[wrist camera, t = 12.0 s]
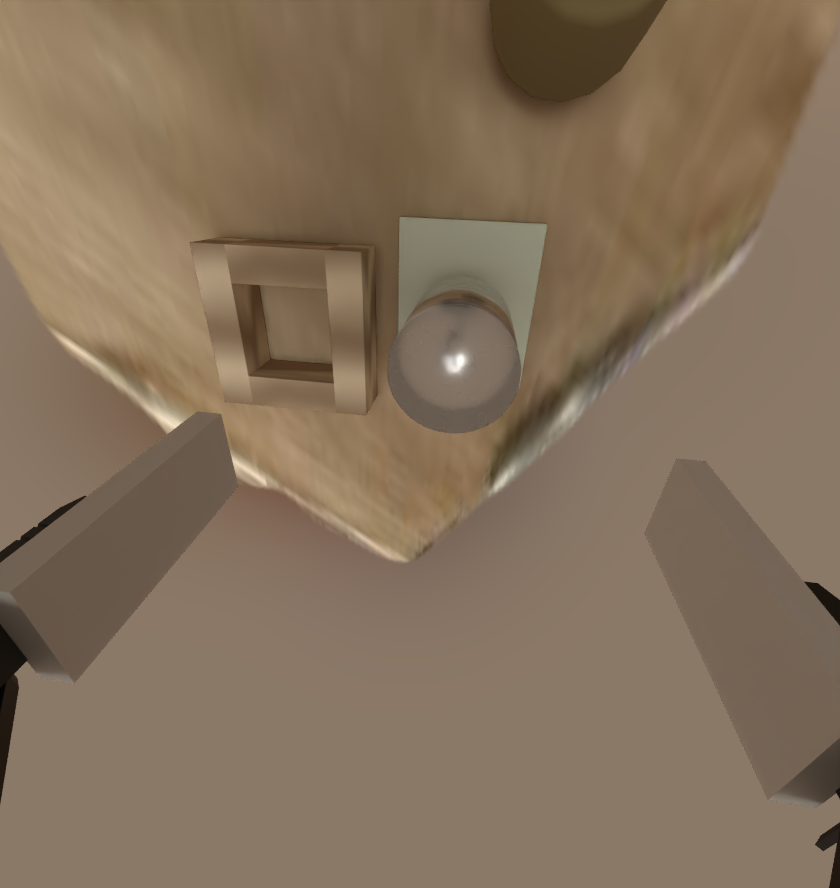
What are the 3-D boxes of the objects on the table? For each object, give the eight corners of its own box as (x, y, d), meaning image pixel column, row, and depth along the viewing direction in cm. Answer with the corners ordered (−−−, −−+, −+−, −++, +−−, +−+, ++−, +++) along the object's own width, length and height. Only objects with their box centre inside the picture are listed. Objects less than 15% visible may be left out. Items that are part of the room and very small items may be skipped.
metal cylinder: (422, 261, 30) (386, 301, 19) (514, 267, 29) (532, 311, 18) (419, 350, 33) (387, 427, 22) (501, 356, 33) (510, 438, 22)
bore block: (221, 237, 32) (189, 242, 29) (374, 246, 31) (361, 252, 28) (248, 383, 38) (224, 402, 35) (377, 395, 37) (366, 415, 34)
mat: (401, 216, 30) (399, 217, 29) (545, 223, 29) (547, 224, 28) (399, 375, 36) (397, 380, 35) (518, 385, 35) (519, 390, 34)
